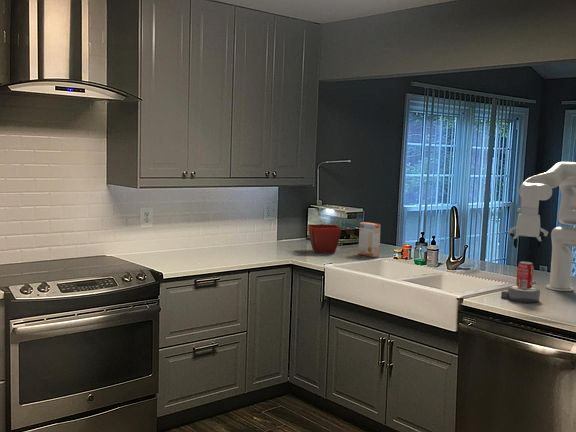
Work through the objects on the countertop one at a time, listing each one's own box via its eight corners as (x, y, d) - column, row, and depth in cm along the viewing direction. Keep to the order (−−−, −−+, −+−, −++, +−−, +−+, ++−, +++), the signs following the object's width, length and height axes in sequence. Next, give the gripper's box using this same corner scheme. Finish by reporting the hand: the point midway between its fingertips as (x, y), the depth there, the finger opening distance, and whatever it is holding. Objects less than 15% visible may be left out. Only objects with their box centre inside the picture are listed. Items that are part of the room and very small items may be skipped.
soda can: (528, 286, 297) (530, 261, 296) (534, 290, 290) (536, 264, 289) (513, 286, 297) (515, 260, 296) (519, 289, 290) (521, 263, 289)
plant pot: (307, 249, 425) (307, 224, 423) (335, 249, 427) (336, 224, 426) (311, 253, 406) (312, 227, 404) (340, 254, 408) (341, 228, 407)
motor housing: (504, 294, 305) (505, 283, 304) (541, 299, 297) (542, 287, 296) (499, 299, 292) (499, 288, 292) (537, 305, 285) (538, 293, 284)
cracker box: (379, 257, 402) (381, 224, 400) (372, 257, 399) (374, 224, 396) (365, 253, 414) (366, 221, 411) (357, 254, 410) (359, 222, 408)
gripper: (508, 210, 291) (505, 247, 292) (548, 213, 282) (546, 251, 284) (511, 209, 297) (508, 245, 299) (550, 212, 289) (548, 249, 291)
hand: (526, 248), depth 292 cm, fingers open, 9 cm apart
